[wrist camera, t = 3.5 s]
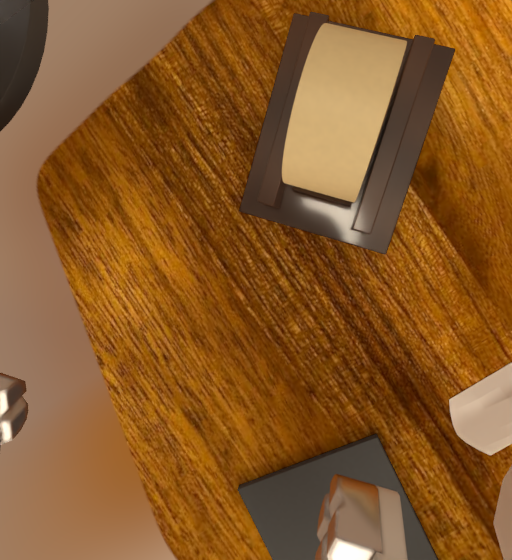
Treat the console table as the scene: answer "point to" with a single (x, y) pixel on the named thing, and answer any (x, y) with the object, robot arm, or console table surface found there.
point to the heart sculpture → (490, 436)
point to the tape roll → (340, 110)
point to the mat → (309, 496)
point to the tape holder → (386, 158)
